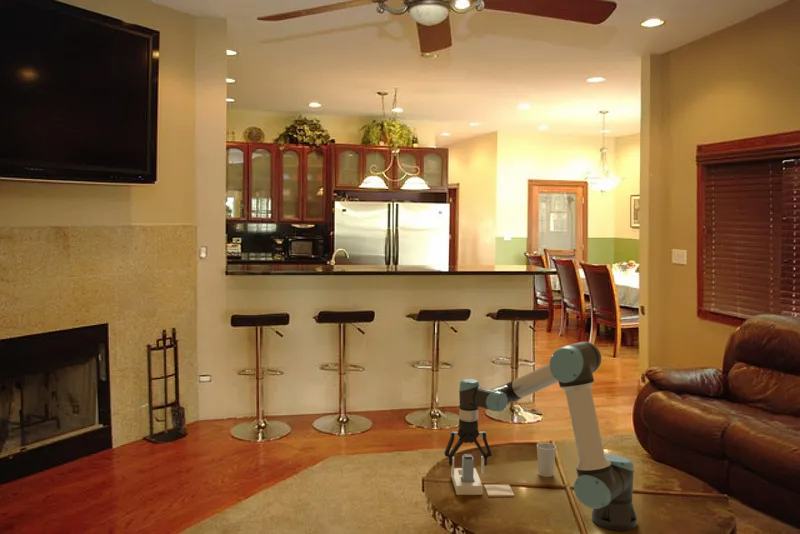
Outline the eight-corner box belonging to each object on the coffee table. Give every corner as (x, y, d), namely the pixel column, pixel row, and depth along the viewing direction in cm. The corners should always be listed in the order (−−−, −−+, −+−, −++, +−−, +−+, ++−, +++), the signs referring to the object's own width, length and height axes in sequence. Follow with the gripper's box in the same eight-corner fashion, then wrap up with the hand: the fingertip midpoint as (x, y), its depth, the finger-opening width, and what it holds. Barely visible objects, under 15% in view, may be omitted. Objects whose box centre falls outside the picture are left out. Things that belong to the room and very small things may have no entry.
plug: (473, 490, 256) (473, 457, 255) (463, 490, 255) (463, 457, 254) (471, 486, 260) (472, 453, 259) (461, 486, 259) (462, 453, 258)
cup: (557, 477, 269) (558, 449, 268) (537, 477, 269) (538, 449, 268) (553, 470, 277) (554, 442, 276) (534, 470, 277) (535, 442, 276)
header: (482, 494, 252) (482, 485, 252) (456, 494, 251) (456, 486, 251) (475, 476, 270) (475, 468, 269) (451, 476, 269) (451, 468, 269)
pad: (514, 496, 250) (514, 495, 250) (488, 496, 250) (488, 495, 250) (508, 485, 260) (509, 484, 260) (484, 486, 260) (484, 484, 260)
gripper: (496, 415, 260) (495, 469, 261) (437, 416, 259) (437, 469, 260) (500, 421, 252) (499, 476, 254) (439, 421, 251) (438, 477, 253)
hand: (467, 473), depth 257 cm, fingers open, 11 cm apart
